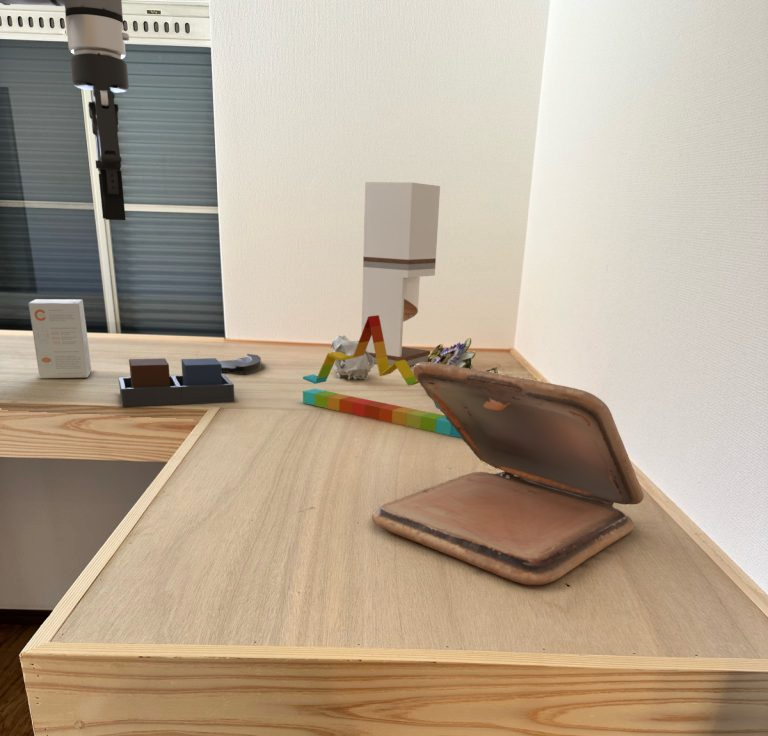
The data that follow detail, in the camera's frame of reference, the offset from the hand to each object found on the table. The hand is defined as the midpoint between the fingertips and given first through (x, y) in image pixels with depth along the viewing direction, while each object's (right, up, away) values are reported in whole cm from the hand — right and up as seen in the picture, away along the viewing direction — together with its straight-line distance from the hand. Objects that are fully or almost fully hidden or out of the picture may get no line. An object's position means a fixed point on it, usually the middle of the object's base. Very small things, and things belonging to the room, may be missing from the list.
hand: (113, 219), depth 110 cm
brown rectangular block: (+4, -25, +6) cm, 26 cm away
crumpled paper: (+35, -18, +30) cm, 50 cm away
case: (+53, -46, -37) cm, 80 cm away
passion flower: (+54, -24, +18) cm, 62 cm away
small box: (-16, -20, +21) cm, 33 cm away
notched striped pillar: (+44, -12, +47) cm, 66 cm away
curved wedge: (+13, -16, +33) cm, 39 cm away
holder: (+7, -26, +8) cm, 28 cm away
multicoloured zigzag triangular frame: (+41, -30, +1) cm, 51 cm away
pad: (+11, -25, +9) cm, 29 cm away
